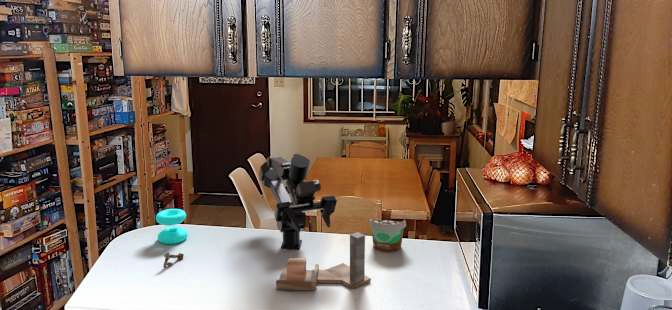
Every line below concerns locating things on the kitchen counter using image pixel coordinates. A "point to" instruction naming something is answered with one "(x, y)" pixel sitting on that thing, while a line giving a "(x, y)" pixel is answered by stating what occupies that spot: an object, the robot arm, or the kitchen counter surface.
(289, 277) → the block
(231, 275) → the kitchen counter surface
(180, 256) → the dark triangular frame
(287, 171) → the robot arm
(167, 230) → the donuts
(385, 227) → the food container
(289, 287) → the pull board
